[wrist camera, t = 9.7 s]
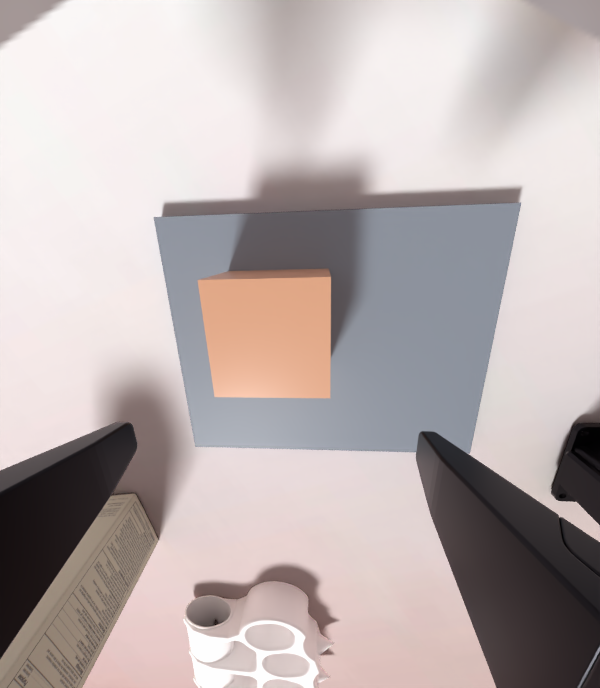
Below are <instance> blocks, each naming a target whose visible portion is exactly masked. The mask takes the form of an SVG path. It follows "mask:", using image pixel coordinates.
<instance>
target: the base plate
mask: <svg viewBox="0 0 600 688" xmlns="http://www.w3.org/2000/svg"><path fill="white" fill-rule="evenodd" d="M520 206H521V203H499V204H474V205H448V206H423V207H398V208H373V209H347V210H322V211H297V212H272V213H246V214H221V215H196V216H171V217H154V221H155V227H156V232H157V238H158V243H159V249H160V254H161V260H162V265H163V271H164V276H165V282H166V287H167V293H168V298H169V304H170V309H171V315H172V320H173V326H174V331H175V337H176V342H177V348H178V354H179V359H180V365H181V370H182V376H183V381H184V387H185V392H186V398H187V403H188V409H189V414H190V420H191V425H192V431H193V436H194V442H195V447H230V448H270V449H310V450H349V451H389V452H416V450H417V443H418V436H419V433H420V432H421V431H434V432H436V433H438V434H439V435H441V436H442V437H444V438H445V439H447V440H448V441H449V442H451V443H452V444H454V445H455V446H457V447H458V448H460V449H461V450H463V451H464V452H466V453H468V454H470V450H471V445H472V440H473V435H474V431H475V426H476V421H477V416H478V411H479V406H480V401H481V396H482V392H483V387H484V382H485V377H486V372H487V367H488V362H489V357H490V353H491V348H492V343H493V338H494V333H495V328H496V323H497V318H498V314H499V309H500V304H501V299H502V294H503V289H504V284H505V279H506V275H507V270H508V265H509V260H510V255H511V250H512V245H513V240H514V236H515V231H516V226H517V221H518V216H519V211H520ZM291 269H329V272H330V275H331V368H330V398H242V397H214V390H213V383H212V376H211V369H210V362H209V356H208V349H207V342H206V335H205V328H204V321H203V314H202V308H201V301H200V294H199V287H198V280H199V279H203V278H206V277H210V276H213V275H216V274H220V273H223V272H227V271H251V270H291Z"/></svg>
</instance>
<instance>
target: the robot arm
mask: <svg viewBox="0 0 600 688" xmlns="http://www.w3.org/2000/svg"><path fill="white" fill-rule="evenodd" d="M136 449H137V441H136V437H135V433H134V429H133V425H132V424H131V423H129V422H116V423H114V424H111V425H109V426H106V427H104V428H102V429H99V430H97V431H94V432H92V433H90V434H87V435H85V436H82V437H80V438H78V439H75V440H73V441H70V442H68V443H66V444H63V445H61V446H58V447H56V448H53V449H51V450H49V451H46V452H44V453H41V454H39V455H37V456H34V457H32V458H29V459H27V460H25V461H22V462H20V463H17V464H15V465H13V466H10V467H8V468H5V469H3V470H1V471H0V659H1V658H2V656H3V655H4V653H5V652H6V650H7V649H8V647H9V646H10V645H11V643H12V642H13V640H14V639H15V637H16V636H17V634H18V633H19V631H20V630H21V628H22V627H23V625H24V624H25V622H26V621H27V619H28V618H29V616H30V615H31V614H32V612H33V611H34V609H35V608H36V606H37V605H38V603H39V602H40V600H41V599H42V597H43V596H44V594H45V593H46V591H47V590H48V588H49V587H50V585H51V584H52V583H53V581H54V580H55V578H56V577H57V575H58V574H59V572H60V571H61V569H62V568H63V566H64V565H65V563H66V562H67V560H68V559H69V557H70V556H71V554H72V553H73V551H74V550H75V549H76V547H77V546H78V544H79V543H80V541H81V540H82V538H83V537H84V535H85V534H86V532H87V531H88V529H89V528H90V526H91V525H92V523H93V522H94V520H95V519H96V518H97V516H98V515H99V513H100V512H101V510H102V509H103V507H104V506H105V504H106V503H107V501H108V500H109V498H110V496H111V495H112V493H113V491H114V490H115V488H116V486H117V484H118V483H119V481H120V479H121V477H122V475H123V474H124V472H125V470H126V468H127V466H128V465H129V463H130V461H131V459H132V457H133V456H134V454H135V452H136ZM416 461H417V465H418V469H419V473H420V477H421V481H422V484H423V488H424V492H425V496H426V500H427V503H428V507H429V510H430V514H431V517H432V519H433V522H434V525H435V527H436V530H437V533H438V535H439V538H440V541H441V543H442V546H443V548H444V551H445V554H446V556H447V559H448V562H449V564H450V567H451V569H452V572H453V575H454V577H455V580H456V583H457V585H458V588H459V590H460V593H461V596H462V598H463V601H464V603H465V606H466V609H467V611H468V614H469V617H470V619H471V622H472V624H473V627H474V630H475V632H476V635H477V638H478V640H479V643H480V645H481V648H482V651H483V653H484V656H485V658H486V661H487V664H488V666H489V669H490V672H491V674H492V677H493V679H494V682H495V685H496V687H497V688H600V542H598V541H597V540H595V539H594V538H592V537H591V536H589V535H588V534H586V533H585V532H583V531H582V530H580V529H579V528H577V527H576V526H574V525H573V524H571V523H570V522H568V521H567V520H565V519H564V518H562V517H560V518H559V516H558V514H556V513H555V512H553V511H552V510H550V509H549V508H547V507H546V506H544V505H543V504H541V503H540V502H539V501H537V500H536V499H534V498H533V497H531V496H530V495H528V494H527V493H525V492H524V491H522V490H521V489H519V488H518V487H516V486H515V485H513V484H512V483H510V482H509V481H507V480H506V479H504V478H503V477H501V476H500V475H498V474H497V473H495V472H494V471H493V470H491V469H490V468H488V467H487V466H485V465H484V464H482V463H481V462H479V461H478V460H476V459H475V458H473V457H472V456H470V455H469V454H467V453H466V452H464V451H463V450H461V449H460V448H458V447H457V446H455V445H454V444H452V443H451V442H449V441H448V440H447V439H445V438H444V437H442V436H441V435H439V434H438V433H436V432H434V431H421V432H420V433H419V436H418V443H417V450H416ZM551 494H552V495H553V496H554V497H555V499H556V500H558V501H573V502H578V503H579V505H580V506H581V507H582V508H583V509H584V510H585V511H586V512H587V513H588V514H589V515H590V516H591V517H592V518H593V519H594V520H595V521H596V522H597V523H598V524H599V525H600V424H599V423H580V424H577V425H575V426H574V427H573V429H572V432H571V434H570V437H569V440H568V443H567V446H566V449H565V452H564V455H563V458H562V461H561V464H560V467H559V470H558V473H557V476H556V479H555V482H554V485H553V488H552V491H551Z"/></svg>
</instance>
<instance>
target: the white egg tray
mask: <svg viewBox="0 0 600 688" xmlns="http://www.w3.org/2000/svg"><path fill="white" fill-rule="evenodd" d="M215 618H216V619H217V621H218V624H219V625H216V626H214V620H215ZM183 620H184V623H185V624H186V625H187V630H188V636H189V643H190V648H189V654H190V655H191V656H192V661H193V667H194V673H195V675H194V678H193V679H194V682H195V683H196V685H197V686H198V687H199V688H318V683H319V682H321V681H323V680H325V679H327V678H329V677H330V676H329V675H328V674H327V673H326V671H325V670H324V669H323V668H322V667H321V666H320V655H321V654H322V653H323V652H324V651H326V650H327V649H328V648H329V647H330V646H332V645H333V644H334V642H332V641H330V640H329V639H327V638H326V637H324V636H323V635H321V634H320V630H319V627H318V624H317V621H316V620H314V619H313V618H312V617H311V616H310V615H309V614H308V597H307V595H306V594H305V593H304V592H303V591H302V590H301V589H299V588H298V587H296V586H294V585H291V584H288V583H285V582H279V581H268V582H263V583H260V584H257V585H255V586H254V587H253V588H251V589H250V591H249V592H248V594H247V596H245V597H243V598H240V599H227V598H221V597H219V596H212V595H206V596H201V597H198V598H196V599H194V600H192V601H191V602H190V603H189V604H188V605H187V607H186V610H185V616H184V619H183Z"/></svg>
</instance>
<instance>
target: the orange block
mask: <svg viewBox="0 0 600 688" xmlns="http://www.w3.org/2000/svg"><path fill="white" fill-rule="evenodd" d="M198 287H199V294H200V301H201V308H202V314H203V321H204V328H205V335H206V342H207V349H208V356H209V362H210V369H211V376H212V383H213V390H214V397H242V398H330V368H331V275H330V272H329V269H291V270H251V271H227V272H223V273H220V274H216V275H213V276H210V277H206V278H203V279H199V280H198Z"/></svg>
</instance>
